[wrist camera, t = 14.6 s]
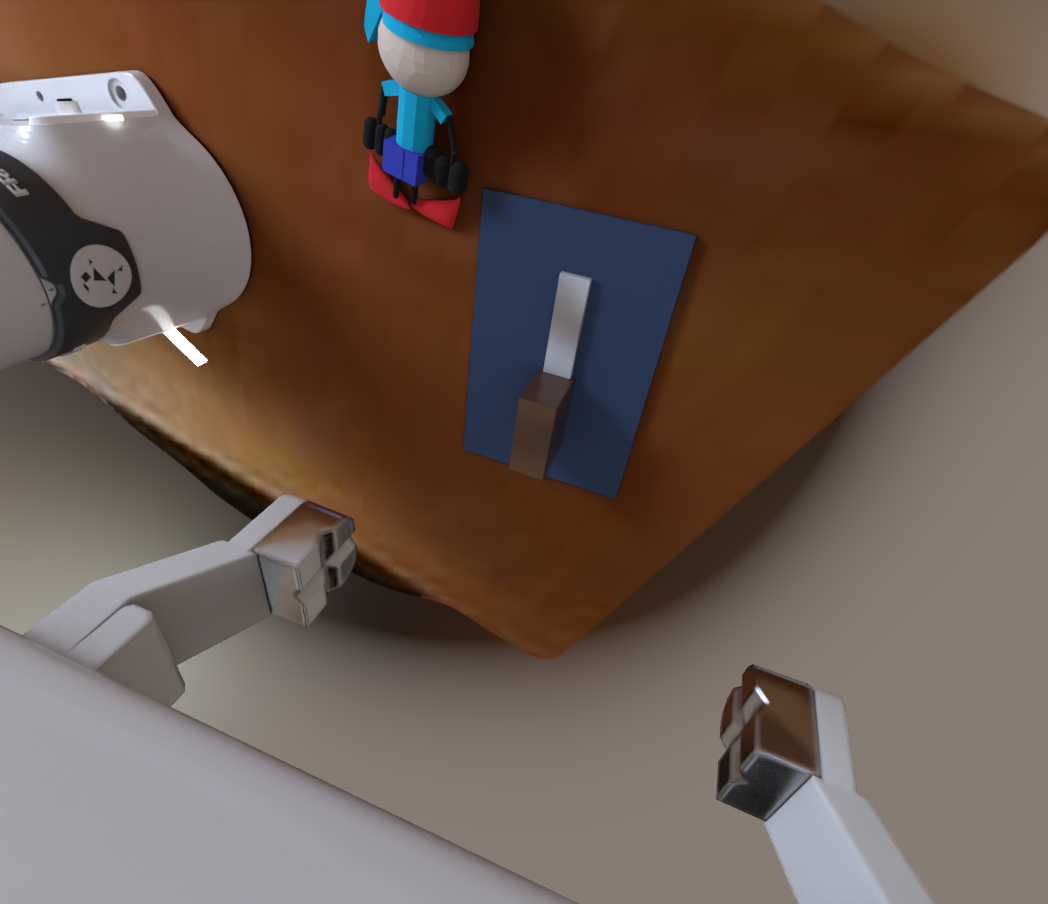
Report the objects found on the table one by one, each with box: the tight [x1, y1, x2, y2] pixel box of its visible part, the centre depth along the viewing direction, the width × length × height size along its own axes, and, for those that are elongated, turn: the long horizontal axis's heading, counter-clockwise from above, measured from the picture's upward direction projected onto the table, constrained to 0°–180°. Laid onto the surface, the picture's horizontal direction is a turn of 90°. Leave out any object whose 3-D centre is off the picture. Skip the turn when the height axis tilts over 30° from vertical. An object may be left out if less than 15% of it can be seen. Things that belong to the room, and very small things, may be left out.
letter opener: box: [509, 271, 592, 481], centre depth 36 cm, size 13×3×5 cm, turn 172°
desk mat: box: [463, 188, 697, 499], centre depth 38 cm, size 13×20×1 cm, turn 172°
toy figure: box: [363, 0, 481, 228], centre depth 30 cm, size 8×5×15 cm
